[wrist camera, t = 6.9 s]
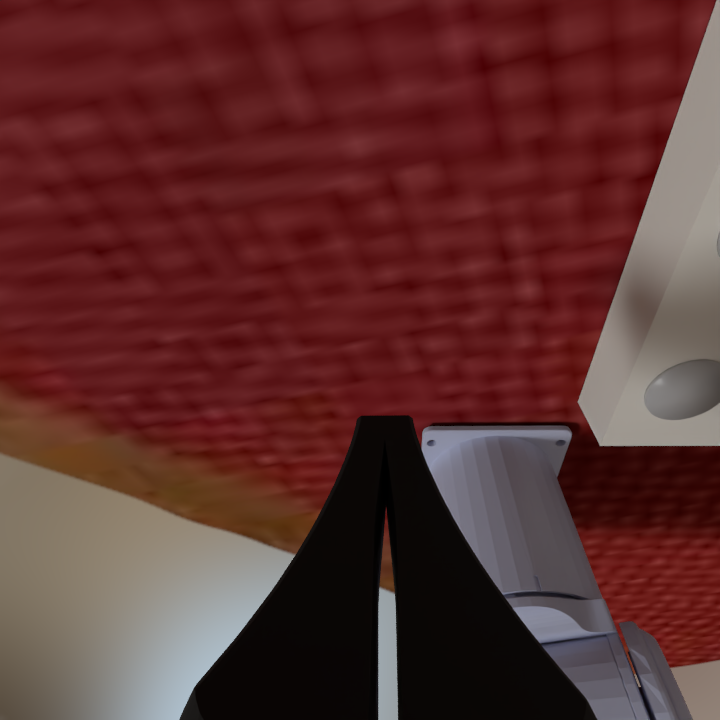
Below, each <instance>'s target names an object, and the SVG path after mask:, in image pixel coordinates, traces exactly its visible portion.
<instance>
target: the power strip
mask: <svg viewBox="0 0 720 720" xmlns="http://www.w3.org/2000/svg"><path fill="white" fill-rule="evenodd" d="M578 403H579V405H580V407H581V409H582V411H583V413H584V415H585V417H586V419H587V421H588V423H589V425H590V427H591V429H592V431H593V433H594V435H595V437H596V439H597V441H598V443H599V445H600V446H720V0H717V1H716V4H715V7H714V9H713V12H712V15H711V18H710V21H709V24H708V27H707V30H706V33H705V35H704V38H703V41H702V44H701V47H700V50H699V53H698V56H697V59H696V61H695V64H694V67H693V70H692V73H691V76H690V79H689V82H688V85H687V88H686V90H685V93H684V96H683V99H682V102H681V105H680V108H679V111H678V114H677V116H676V119H675V122H674V125H673V128H672V131H671V134H670V137H669V140H668V142H667V145H666V148H665V151H664V154H663V157H662V160H661V163H660V166H659V169H658V171H657V174H656V177H655V180H654V183H653V186H652V189H651V192H650V195H649V197H648V200H647V203H646V206H645V209H644V212H643V215H642V218H641V221H640V223H639V226H638V229H637V232H636V235H635V238H634V241H633V244H632V247H631V250H630V252H629V255H628V258H627V261H626V264H625V267H624V270H623V273H622V276H621V278H620V281H619V284H618V287H617V290H616V293H615V296H614V299H613V302H612V304H611V307H610V310H609V313H608V316H607V319H606V322H605V325H604V328H603V331H602V333H601V336H600V339H599V342H598V345H597V348H596V351H595V354H594V357H593V359H592V362H591V365H590V368H589V371H588V374H587V377H586V380H585V383H584V385H583V388H582V391H581V394H580V397H579V400H578Z"/></svg>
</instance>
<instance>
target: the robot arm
mask: <svg viewBox="0 0 720 720" xmlns="http://www.w3.org/2000/svg"><path fill="white" fill-rule="evenodd" d="M571 437H572V432H571V430H570V428H569V427H567V426H429V427H427V428H425V429H424V430H423V432H422V450H421V447H420V444H419V441H418V438H417V435H416V431H415V428H414V423H413V419H412V418H411V417H410V416H360V417H359V418H358V419H357V422H356V427H355V431H354V435H353V438H352V441H351V444H350V447H349V450H348V453H347V455H346V458H345V461H344V463H343V465H342V468H341V470H340V472H339V475H338V477H337V479H336V482H335V484H334V486H333V488H332V490H331V492H330V494H329V496H328V498H327V500H326V502H325V504H324V506H323V508H322V510H321V512H320V514H319V516H318V518H317V520H316V521H315V523H314V525H313V527H312V529H311V530H310V532H309V534H308V536H307V537H306V539H305V541H304V542H303V544H302V546H301V547H300V549H299V550H298V552H297V554H296V555H295V557H294V558H293V560H292V561H291V563H290V564H289V566H288V567H287V569H286V570H285V572H284V574H283V575H282V577H281V578H280V580H279V581H278V582H277V584H276V585H275V587H274V588H273V590H272V591H271V592H270V594H269V595H268V596H267V598H266V599H265V600H264V602H263V603H262V604H261V606H260V607H259V608H258V610H257V611H256V612H255V614H254V615H253V616H252V618H251V619H250V620H249V622H248V623H247V625H246V626H245V627H244V628H243V630H242V631H241V632H240V633H239V635H238V636H237V637H236V638H235V640H234V641H233V642H232V643H231V644H230V646H229V647H228V648H227V649H226V650H225V651H224V653H223V654H222V655H221V656H220V657H219V658H218V660H217V661H216V662H215V663H214V664H213V666H212V667H211V668H210V669H209V670H208V672H207V673H206V674H205V675H204V676H203V677H202V678H201V680H200V681H199V682H198V683H197V685H196V686H195V688H194V689H193V691H192V693H191V695H190V697H189V700H188V702H187V704H186V706H185V708H184V710H183V713H182V715H181V717H180V720H378V601H379V583H380V571H381V559H382V548H383V536H384V524H385V511H386V508H387V518H388V528H389V537H390V547H391V557H392V567H393V576H394V586H395V600H396V631H397V632H396V633H397V681H398V720H693V719H692V717H691V714H690V712H689V710H688V707H687V705H686V703H685V700H684V698H683V696H682V694H681V691H680V689H679V687H678V685H677V682H676V680H675V678H674V676H673V674H672V672H671V669H670V667H669V665H668V663H667V661H666V659H665V657H664V655H663V653H662V651H661V649H660V647H659V645H658V643H657V641H656V639H655V638H654V637H653V636H652V635H650V634H648V633H647V632H645V631H644V630H642V629H639V628H638V626H637V625H636V624H635V623H634V622H631V621H629V622H622V623H619V625H620V628H621V631H622V633H623V636H624V638H625V641H626V644H627V646H628V649H629V651H630V652H628V654H629V657H630V659H631V662H632V665H633V667H634V670H635V672H636V675H637V677H638V680H639V683H640V685H641V687H638V684H637V682H636V679H635V676H634V674H633V671H632V669H631V666H630V663H629V661H628V658H627V655H626V653H625V650H624V648H623V645H622V642H621V640H620V637H619V635H618V632H617V630H616V627H615V625H614V622H613V620H612V617H611V615H610V612H609V609H608V607H607V604H606V602H605V600H604V599H603V598H602V596H601V593H600V590H599V588H598V585H597V583H596V580H595V577H594V575H593V572H592V569H591V567H590V564H589V561H588V559H587V556H586V553H585V551H584V548H583V546H582V543H581V540H580V538H579V535H578V532H577V530H576V527H575V524H574V522H573V519H572V516H571V514H570V511H569V508H568V506H567V503H566V501H565V498H564V495H563V493H562V490H561V487H560V485H559V482H558V479H557V477H558V474H559V471H560V468H561V465H562V463H563V460H564V457H565V454H566V451H567V449H568V446H569V443H570V440H571ZM429 440H434V441H429ZM558 440H559V441H558Z"/></svg>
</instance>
